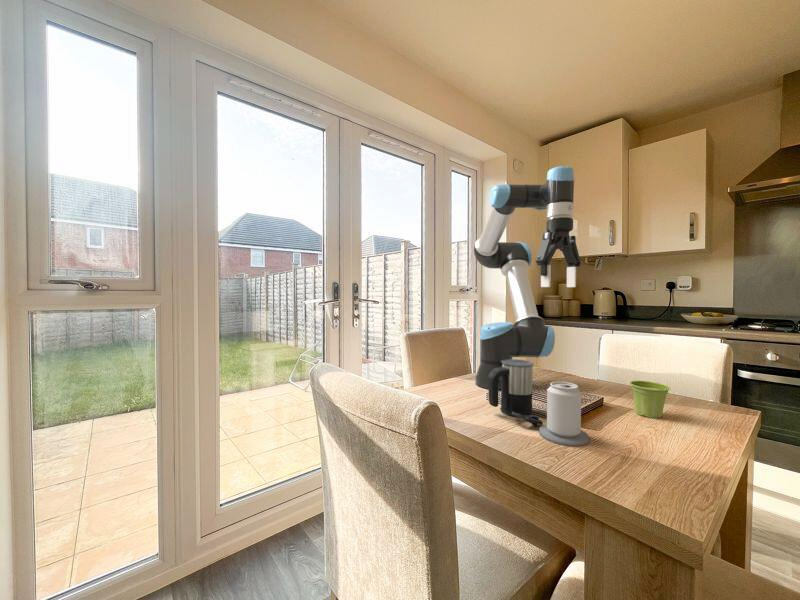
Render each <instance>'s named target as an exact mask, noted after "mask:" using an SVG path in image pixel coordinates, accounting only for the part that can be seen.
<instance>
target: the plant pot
mask: <svg viewBox="0 0 800 600" xmlns="http://www.w3.org/2000/svg"><path fill="white" fill-rule="evenodd" d="M629 385H630V386H631V390H632V395H633V402H634V403H633V404H634V411H635V413H636V414H637V415H639V416H644V417H647V418H650V419H661V417H663V412H664V408H665V402H666V399H667V395H668V393H669V391H670V390H671V387H670V386H669V385H666V384H664V383H658V382H655V381H648V380H631V381H629Z"/></svg>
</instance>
